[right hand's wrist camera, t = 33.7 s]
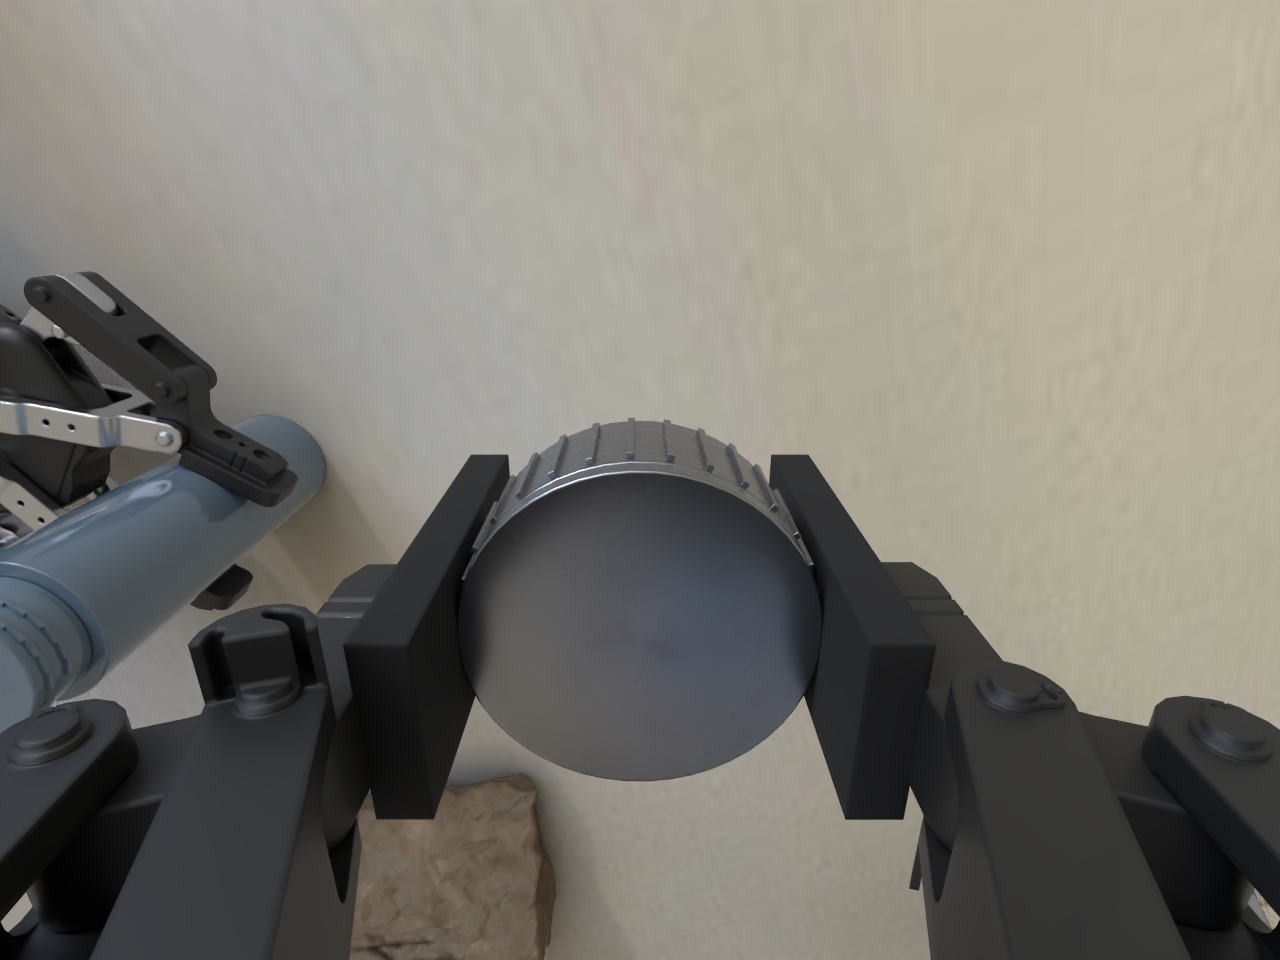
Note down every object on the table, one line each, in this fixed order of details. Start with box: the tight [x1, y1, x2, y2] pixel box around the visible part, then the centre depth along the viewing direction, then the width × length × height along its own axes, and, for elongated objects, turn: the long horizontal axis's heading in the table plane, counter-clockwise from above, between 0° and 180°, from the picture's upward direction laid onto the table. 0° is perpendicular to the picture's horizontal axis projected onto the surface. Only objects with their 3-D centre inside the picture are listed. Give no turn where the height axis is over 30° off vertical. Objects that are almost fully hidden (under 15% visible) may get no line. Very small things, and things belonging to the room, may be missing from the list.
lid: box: [456, 418, 823, 781], centre depth 11 cm, size 6×6×2 cm
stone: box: [349, 774, 556, 960], centre depth 41 cm, size 21×15×6 cm
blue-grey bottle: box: [0, 415, 325, 734], centre depth 26 cm, size 5×5×17 cm
